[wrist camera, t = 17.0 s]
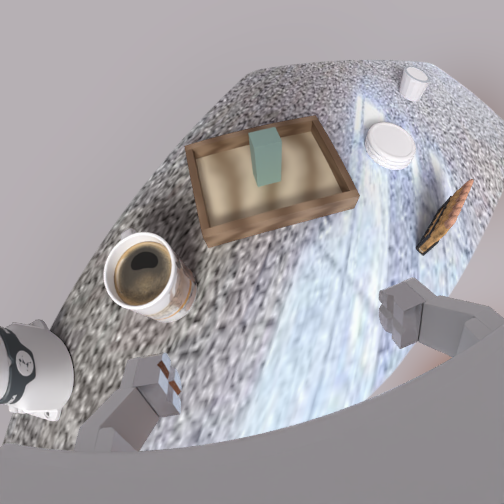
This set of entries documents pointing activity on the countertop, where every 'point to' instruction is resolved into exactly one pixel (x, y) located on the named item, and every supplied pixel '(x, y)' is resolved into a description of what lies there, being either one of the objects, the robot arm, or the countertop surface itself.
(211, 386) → the countertop surface
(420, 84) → the white cylinder
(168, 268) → the mug
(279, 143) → the grey-green rectangular block
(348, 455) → the robot arm
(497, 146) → the countertop surface
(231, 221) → the wooden serving tray
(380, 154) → the white round disc stack
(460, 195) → the ammunition clip
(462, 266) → the countertop surface
